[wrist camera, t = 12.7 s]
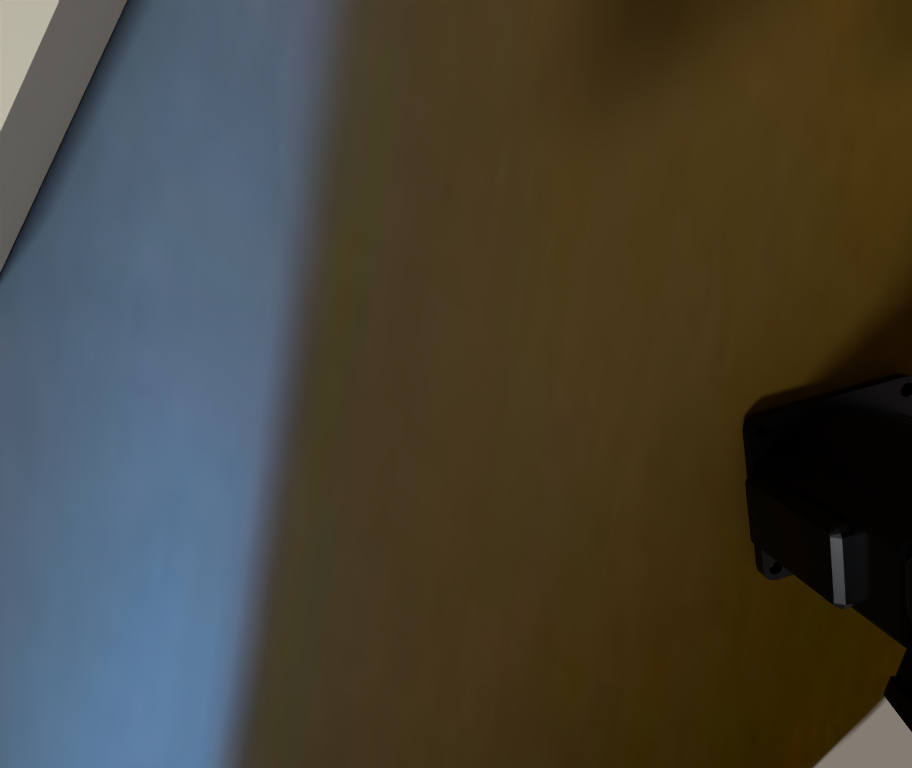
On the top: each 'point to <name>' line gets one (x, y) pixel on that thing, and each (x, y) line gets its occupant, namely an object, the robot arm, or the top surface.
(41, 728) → the top surface
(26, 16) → the socket plate
